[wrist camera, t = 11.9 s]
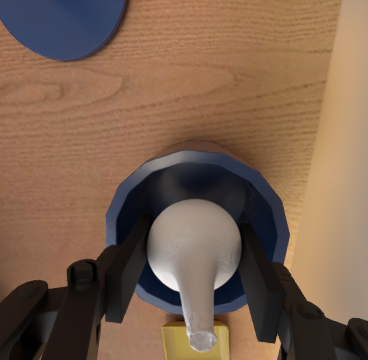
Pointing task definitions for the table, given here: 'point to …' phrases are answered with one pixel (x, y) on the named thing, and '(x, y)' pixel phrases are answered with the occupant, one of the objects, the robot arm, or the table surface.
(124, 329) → the table surface
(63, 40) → the lid
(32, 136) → the table surface
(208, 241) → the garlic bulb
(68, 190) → the table surface
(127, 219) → the pot
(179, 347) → the yellow square tray
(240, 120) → the table surface
